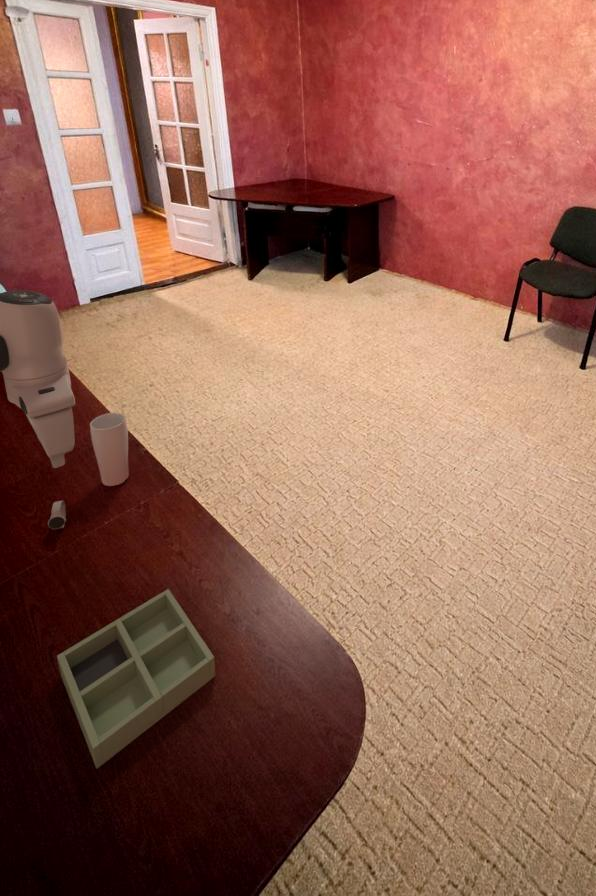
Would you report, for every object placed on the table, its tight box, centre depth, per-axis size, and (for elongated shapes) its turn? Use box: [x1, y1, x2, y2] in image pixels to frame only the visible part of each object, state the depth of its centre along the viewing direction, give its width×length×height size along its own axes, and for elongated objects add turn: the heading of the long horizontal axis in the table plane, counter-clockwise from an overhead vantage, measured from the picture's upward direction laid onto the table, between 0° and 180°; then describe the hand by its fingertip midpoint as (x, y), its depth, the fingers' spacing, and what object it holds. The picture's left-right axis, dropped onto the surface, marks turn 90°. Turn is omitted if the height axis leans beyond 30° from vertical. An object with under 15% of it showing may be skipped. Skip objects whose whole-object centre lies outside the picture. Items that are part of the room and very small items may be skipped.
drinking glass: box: [89, 412, 130, 487], centre depth 105 cm, size 7×7×15 cm
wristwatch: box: [47, 499, 67, 531], centre depth 93 cm, size 3×5×5 cm, turn 26°
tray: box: [56, 588, 217, 769], centre depth 69 cm, size 15×15×4 cm
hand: (51, 452), depth 86 cm, fingers open, 8 cm apart
